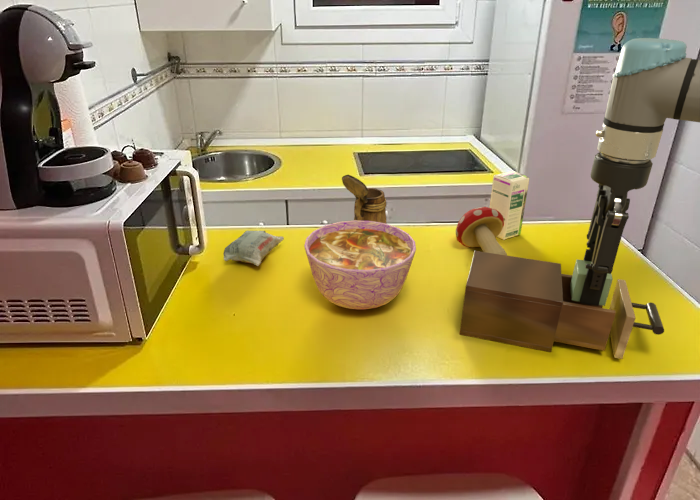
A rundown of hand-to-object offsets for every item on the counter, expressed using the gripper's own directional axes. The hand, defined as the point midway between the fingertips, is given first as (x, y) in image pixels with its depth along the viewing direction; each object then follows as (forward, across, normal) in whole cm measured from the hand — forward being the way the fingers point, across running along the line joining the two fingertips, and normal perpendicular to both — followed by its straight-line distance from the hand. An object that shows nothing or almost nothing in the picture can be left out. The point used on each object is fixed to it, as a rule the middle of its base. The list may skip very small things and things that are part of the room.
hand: (587, 293), depth 85 cm
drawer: (+7, 0, +2) cm, 8 cm away
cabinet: (+8, 0, -12) cm, 14 cm away
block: (0, 0, 0) cm, 0 cm away
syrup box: (+9, -37, -15) cm, 41 cm away
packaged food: (+9, -7, -65) cm, 66 cm away
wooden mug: (+9, -22, -45) cm, 50 cm away
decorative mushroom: (+9, -24, -19) cm, 32 cm away
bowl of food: (+9, +1, -39) cm, 40 cm away
